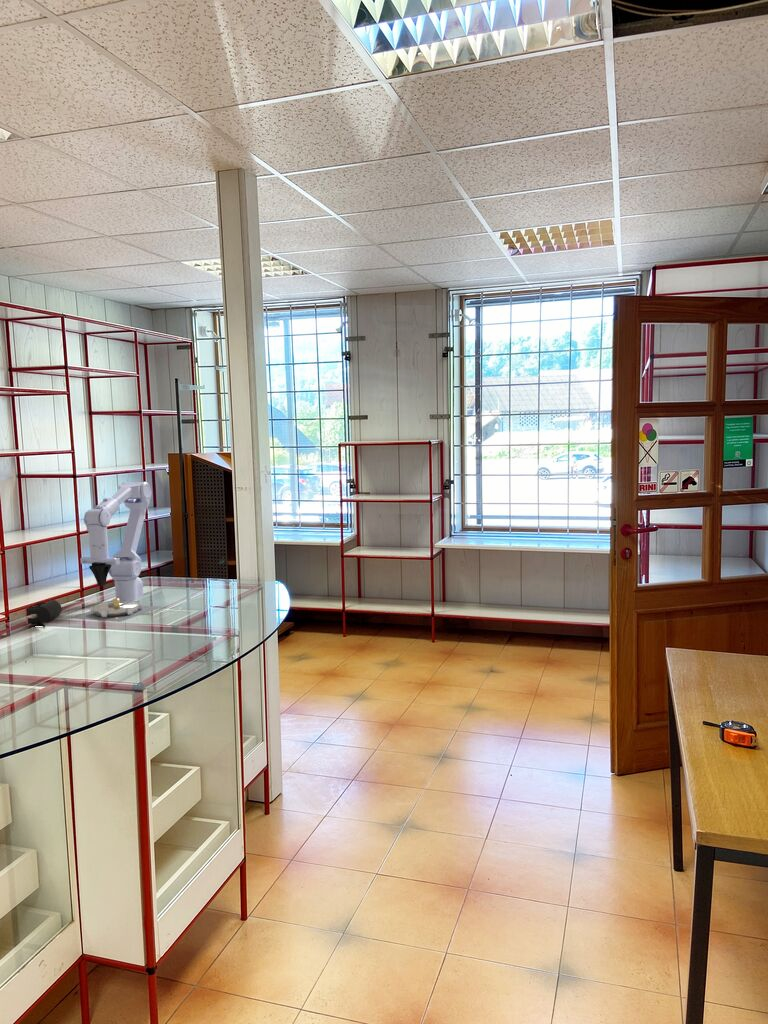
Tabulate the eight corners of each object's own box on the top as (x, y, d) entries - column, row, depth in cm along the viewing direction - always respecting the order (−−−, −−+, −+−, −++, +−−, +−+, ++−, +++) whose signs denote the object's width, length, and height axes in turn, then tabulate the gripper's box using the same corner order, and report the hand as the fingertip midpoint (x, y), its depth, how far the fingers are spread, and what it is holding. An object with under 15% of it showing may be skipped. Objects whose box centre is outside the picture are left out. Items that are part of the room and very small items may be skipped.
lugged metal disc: (90, 609, 240) (89, 594, 240) (140, 604, 246) (139, 589, 245) (90, 619, 227) (89, 602, 226) (143, 613, 233) (142, 597, 232)
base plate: (113, 608, 249) (113, 603, 249) (161, 611, 243) (161, 606, 242) (70, 622, 231) (69, 617, 231) (121, 626, 224) (120, 621, 224)
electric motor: (51, 627, 226) (49, 606, 225) (27, 628, 225) (25, 607, 224) (62, 619, 236) (61, 599, 235) (40, 620, 235) (38, 600, 234)
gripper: (72, 546, 239) (75, 587, 240) (108, 547, 234) (111, 588, 235) (88, 543, 245) (90, 582, 247) (123, 544, 240) (125, 584, 242)
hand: (101, 585), depth 241 cm, fingers closed
